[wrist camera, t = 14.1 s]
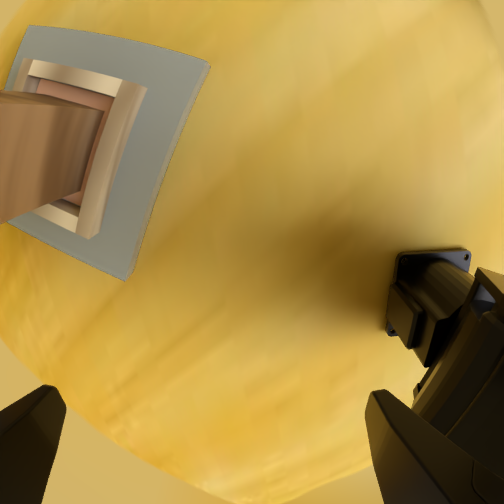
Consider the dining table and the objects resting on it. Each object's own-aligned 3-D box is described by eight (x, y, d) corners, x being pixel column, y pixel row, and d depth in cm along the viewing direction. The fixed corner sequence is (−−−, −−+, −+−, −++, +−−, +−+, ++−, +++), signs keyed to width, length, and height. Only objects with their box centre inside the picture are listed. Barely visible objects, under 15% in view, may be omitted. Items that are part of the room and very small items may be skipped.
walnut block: (104, 111, 15) (-24, 103, 6) (80, 190, 17) (-41, 244, 7) (44, 94, 15) (-79, 89, 5) (25, 167, 16) (-93, 203, 7)
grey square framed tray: (210, 67, 16) (202, 54, 13) (133, 272, 20) (116, 292, 18) (40, 29, 14) (16, 20, 11) (-8, 202, 19) (-32, 212, 16)
